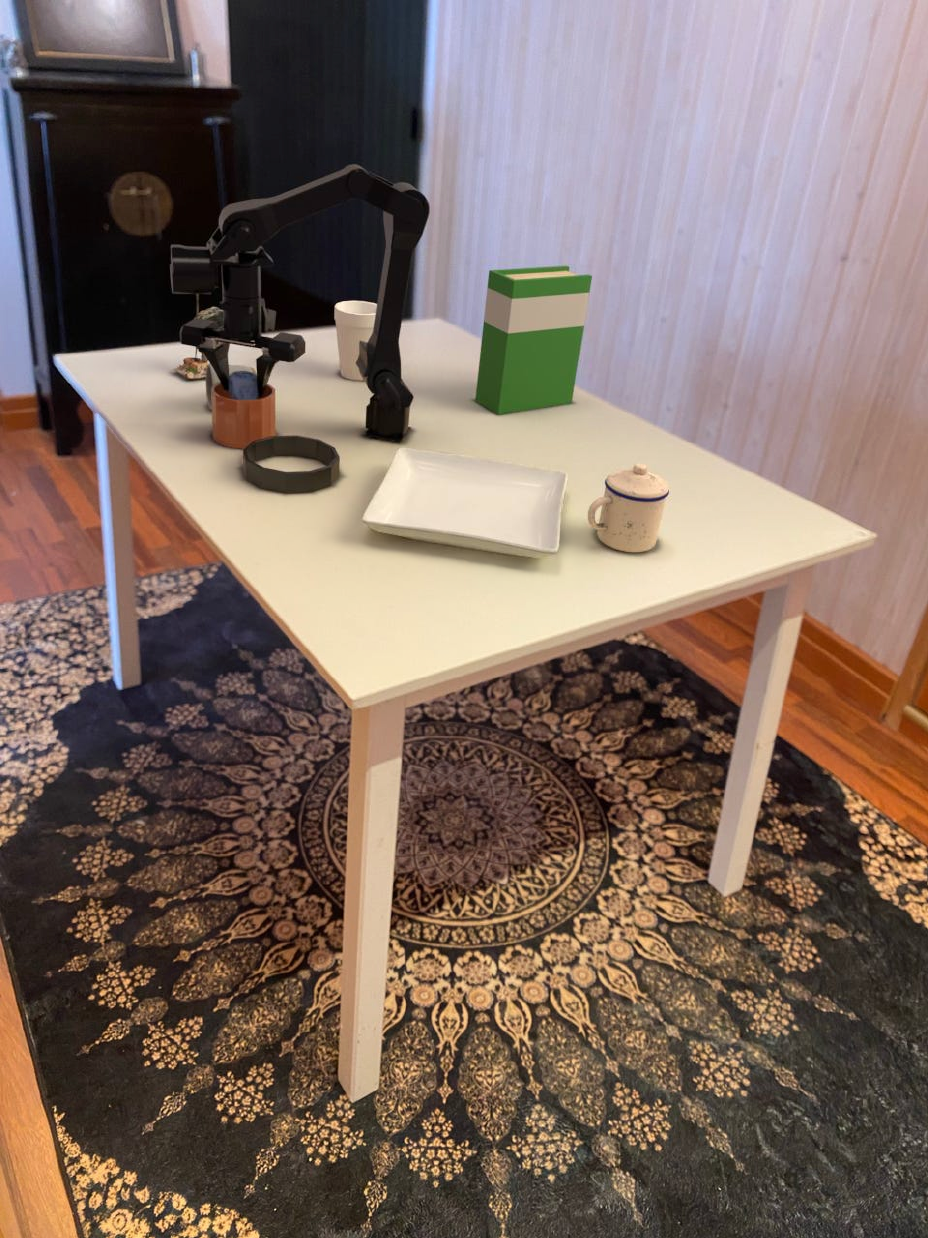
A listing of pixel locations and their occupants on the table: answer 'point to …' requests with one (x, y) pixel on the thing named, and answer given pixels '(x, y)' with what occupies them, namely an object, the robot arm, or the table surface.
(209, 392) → the ceramic mug
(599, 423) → the table surface
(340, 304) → the foam cup
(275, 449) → the dark grey ring
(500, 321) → the hardback book
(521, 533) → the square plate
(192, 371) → the plant with pod
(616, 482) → the teacup with lid
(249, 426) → the terracotta cup
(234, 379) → the decorative dice
